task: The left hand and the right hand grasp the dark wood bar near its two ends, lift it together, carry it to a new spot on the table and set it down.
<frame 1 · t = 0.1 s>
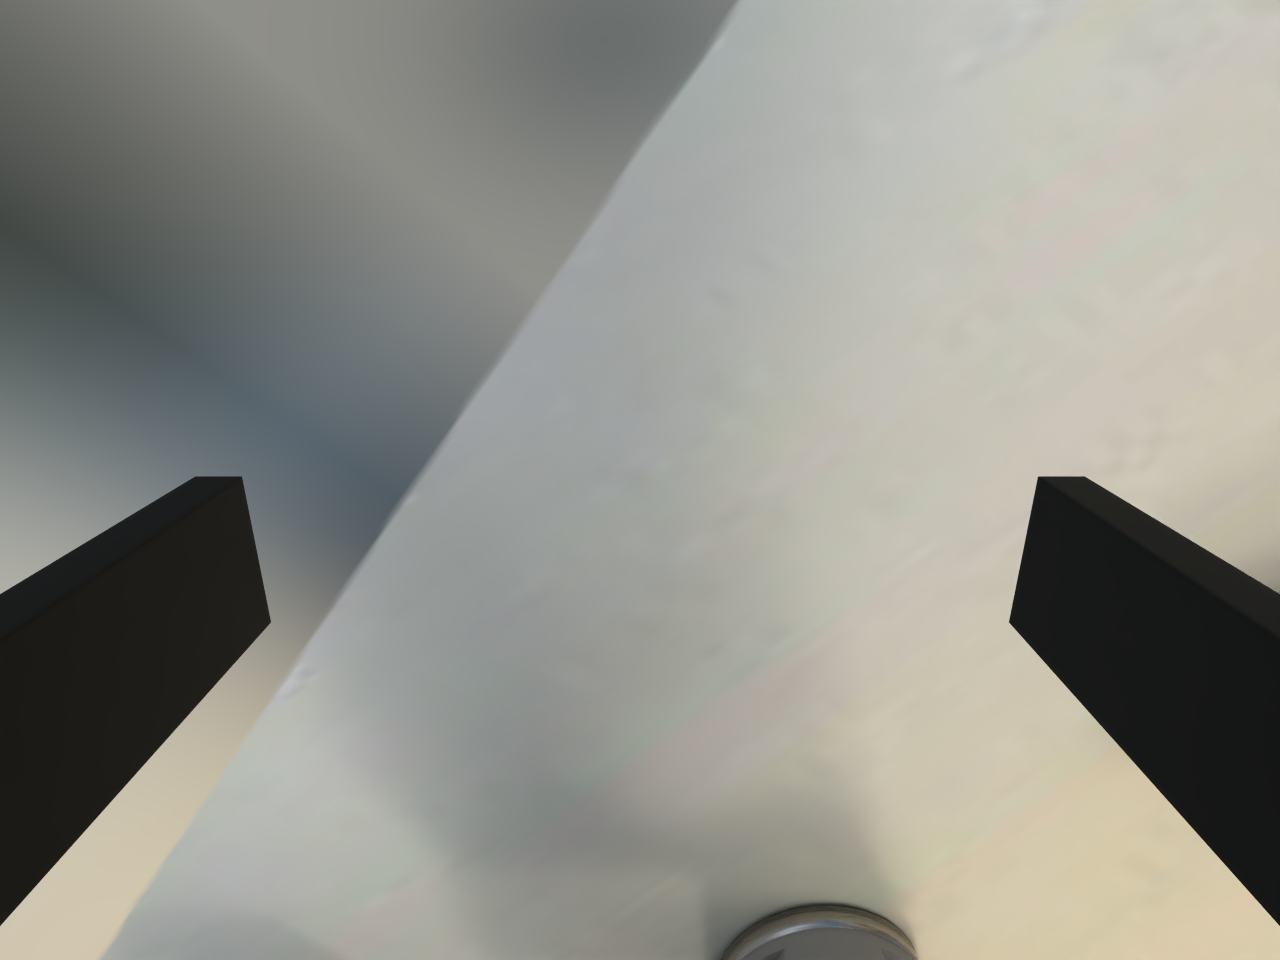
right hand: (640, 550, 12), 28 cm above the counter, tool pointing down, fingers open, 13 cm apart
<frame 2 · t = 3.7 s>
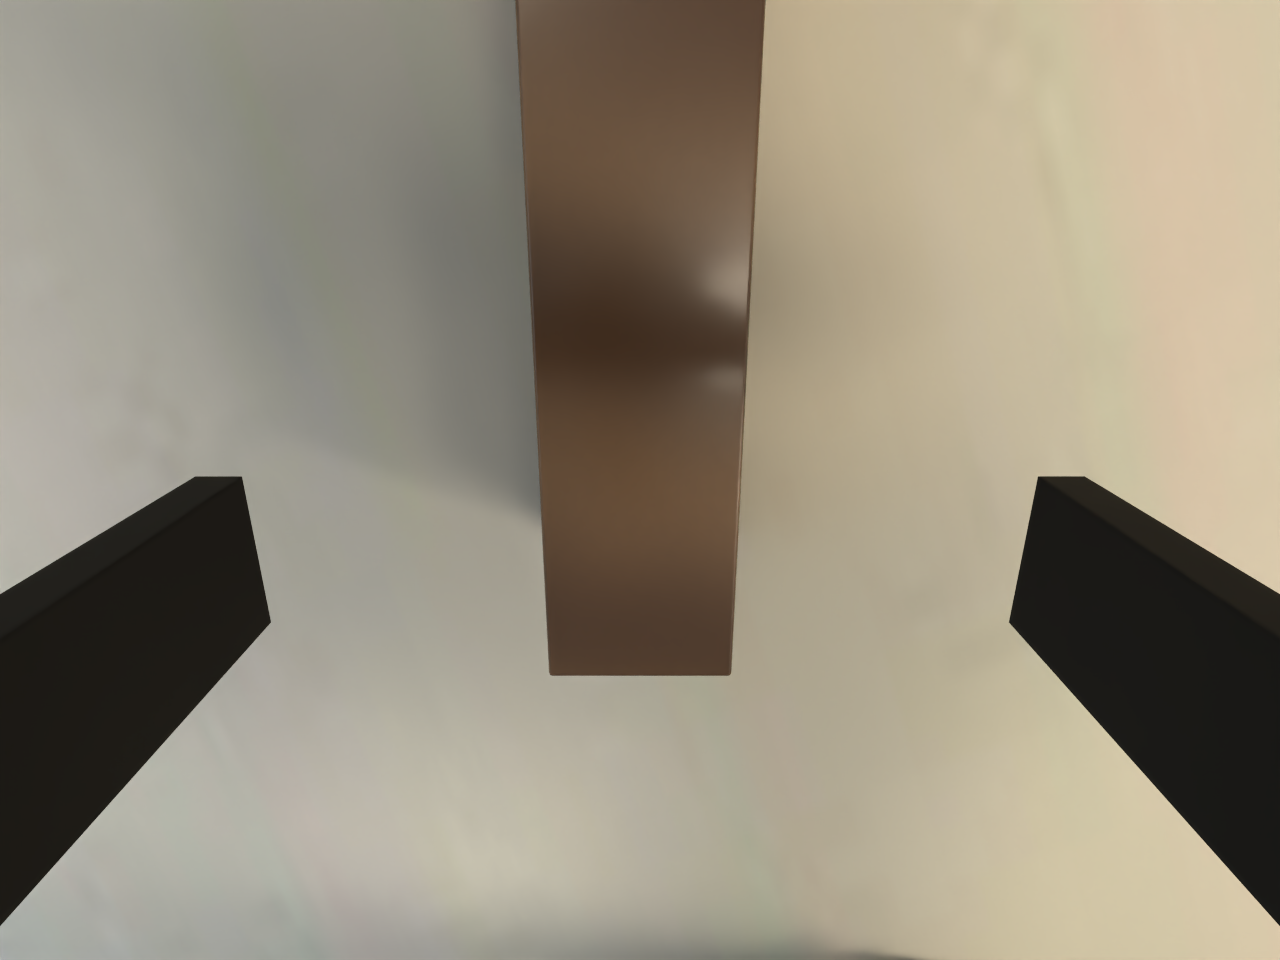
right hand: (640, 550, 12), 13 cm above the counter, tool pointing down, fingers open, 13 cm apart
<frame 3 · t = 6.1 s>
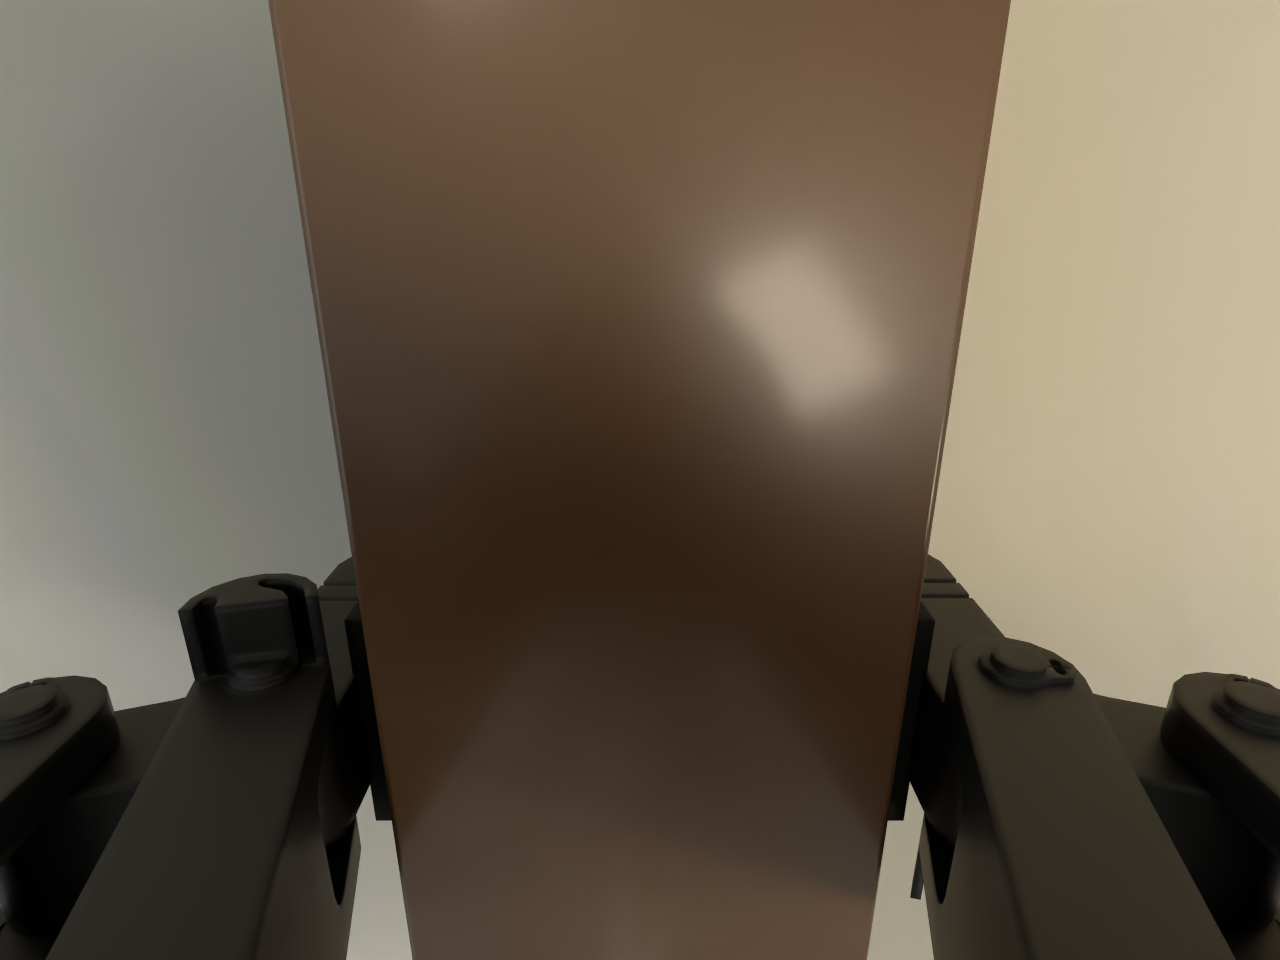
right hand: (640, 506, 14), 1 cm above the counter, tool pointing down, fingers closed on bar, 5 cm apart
when the right hand's fingers open (1 cm above the counter, at t = 13.1 s): bar stays where it is, on the counter.
when the left hand's fingers open (4 cm above the counter, at t = 13.3 s): bar stays where it is, on the counter.
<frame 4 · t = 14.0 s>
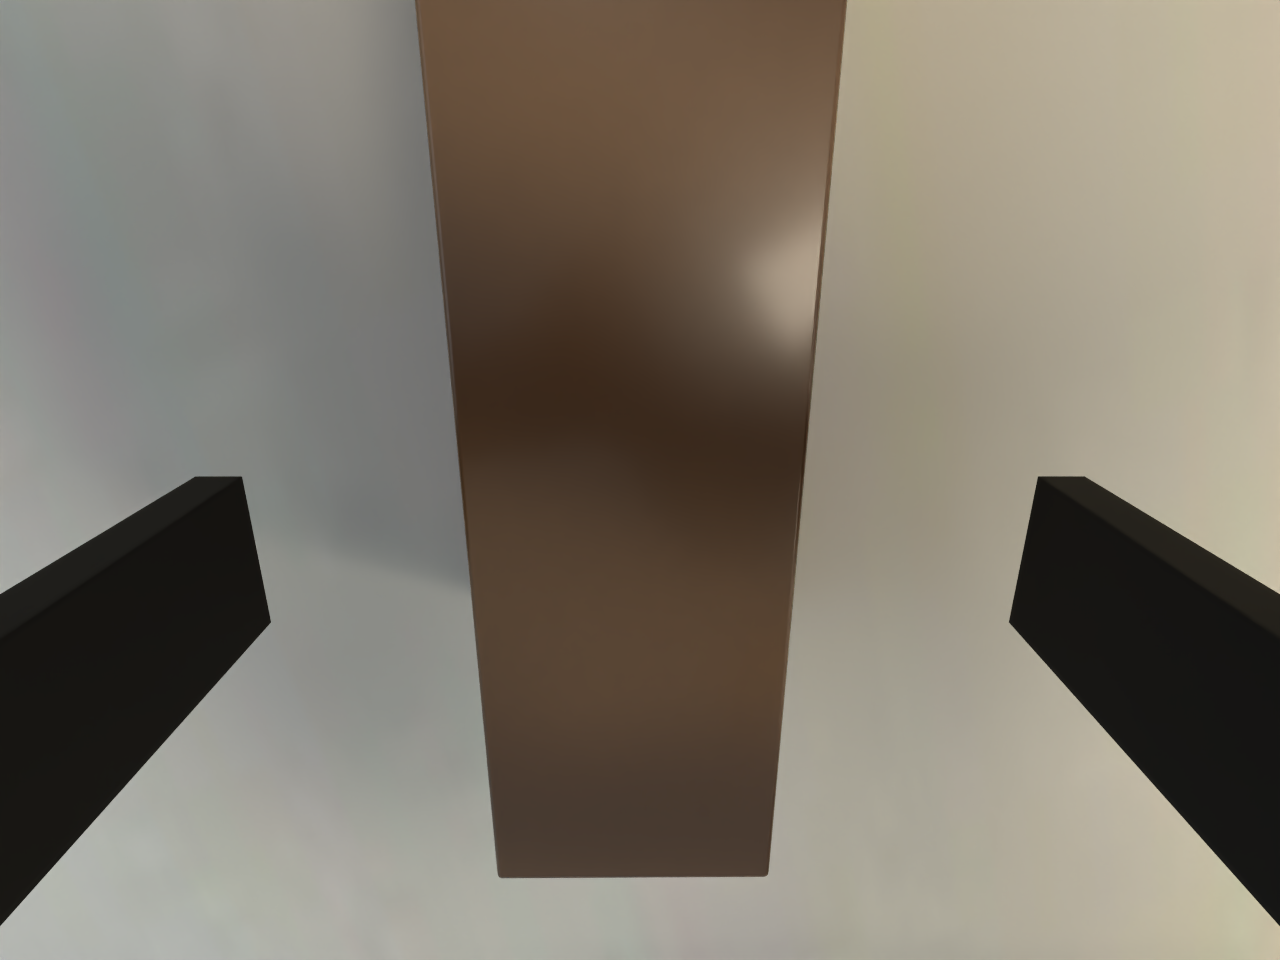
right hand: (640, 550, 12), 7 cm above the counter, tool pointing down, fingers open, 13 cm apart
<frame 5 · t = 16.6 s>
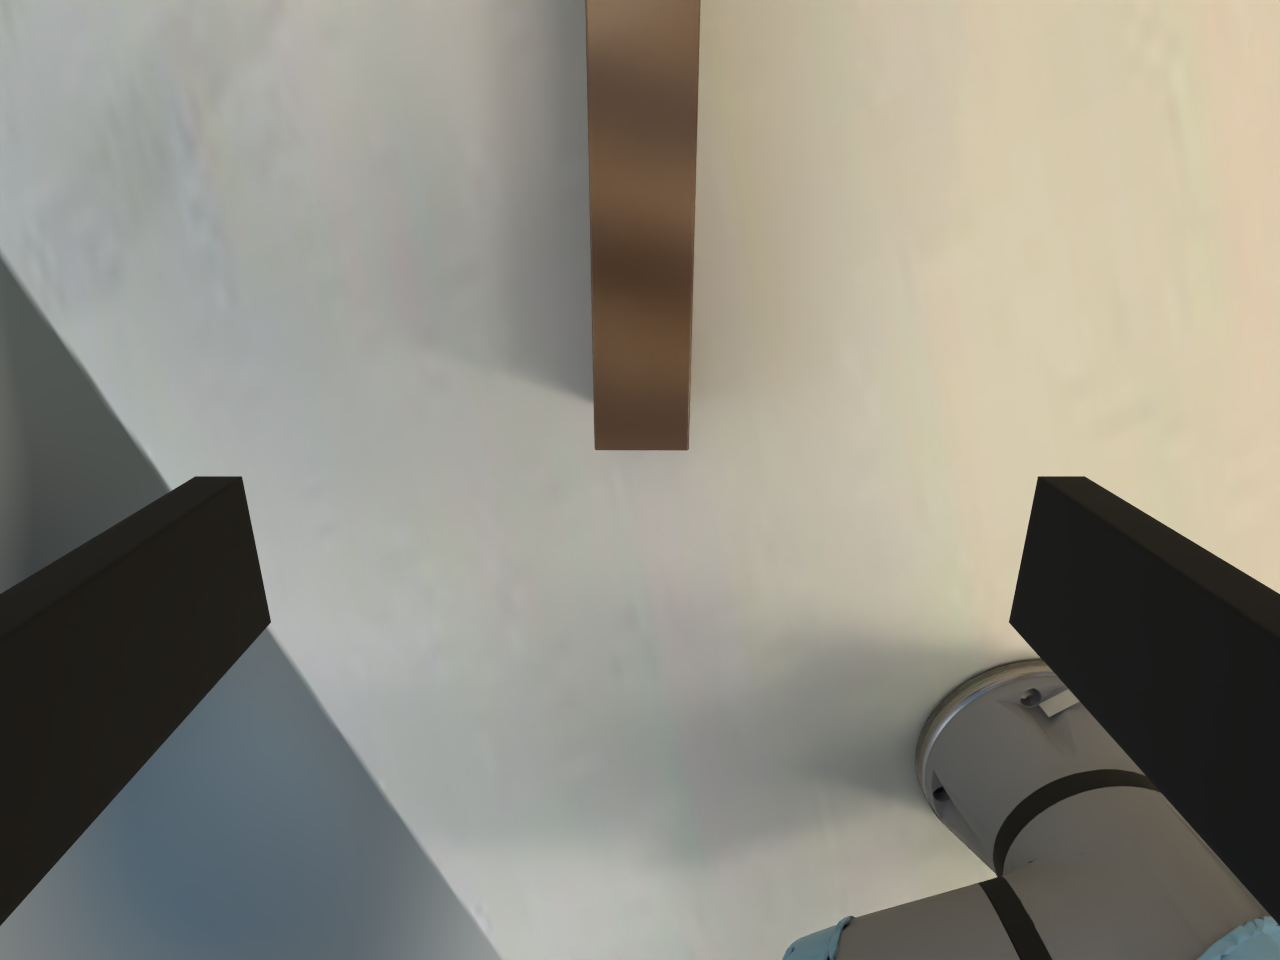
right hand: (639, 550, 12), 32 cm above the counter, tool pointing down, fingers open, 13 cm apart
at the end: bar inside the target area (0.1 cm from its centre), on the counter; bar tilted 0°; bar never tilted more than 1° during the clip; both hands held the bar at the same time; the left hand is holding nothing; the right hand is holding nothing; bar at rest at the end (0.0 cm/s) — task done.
